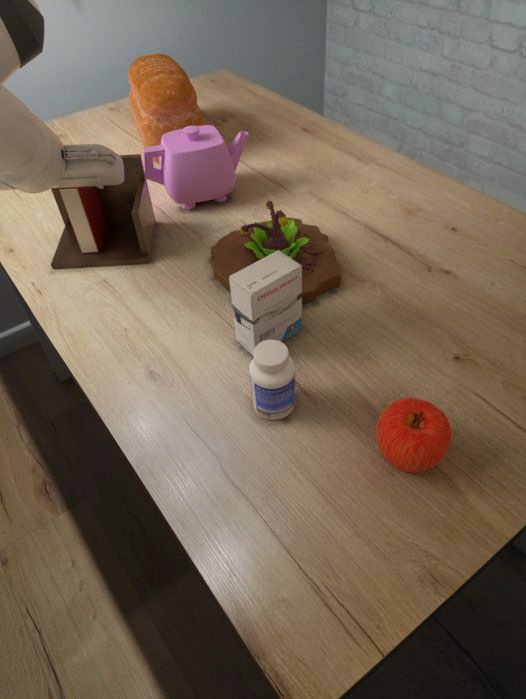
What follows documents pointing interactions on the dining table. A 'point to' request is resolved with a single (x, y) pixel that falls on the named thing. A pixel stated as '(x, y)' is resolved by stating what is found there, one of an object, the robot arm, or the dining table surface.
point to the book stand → (114, 223)
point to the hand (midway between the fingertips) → (67, 185)
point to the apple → (413, 434)
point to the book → (85, 216)
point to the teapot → (195, 164)
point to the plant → (289, 239)
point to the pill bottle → (272, 380)
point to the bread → (161, 98)
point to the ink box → (267, 300)
